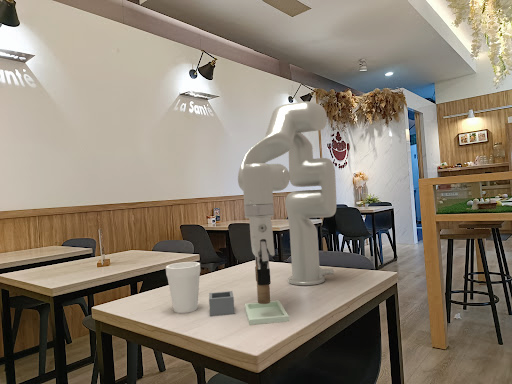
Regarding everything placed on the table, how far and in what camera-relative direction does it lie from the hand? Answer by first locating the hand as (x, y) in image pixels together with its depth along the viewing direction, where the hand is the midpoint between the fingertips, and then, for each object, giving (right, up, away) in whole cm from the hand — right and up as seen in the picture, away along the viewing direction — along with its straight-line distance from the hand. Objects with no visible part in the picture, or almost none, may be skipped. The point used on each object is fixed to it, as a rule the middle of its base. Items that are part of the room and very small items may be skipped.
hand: (263, 282), depth 99 cm
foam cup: (-21, -10, +9) cm, 25 cm away
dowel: (0, -5, 0) cm, 5 cm away
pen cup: (-11, -10, +5) cm, 15 cm away
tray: (+1, -9, 0) cm, 9 cm away
